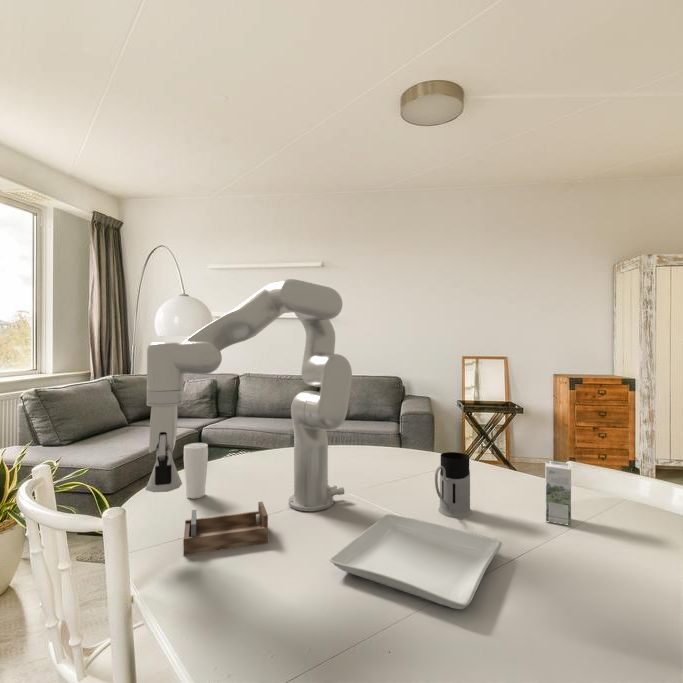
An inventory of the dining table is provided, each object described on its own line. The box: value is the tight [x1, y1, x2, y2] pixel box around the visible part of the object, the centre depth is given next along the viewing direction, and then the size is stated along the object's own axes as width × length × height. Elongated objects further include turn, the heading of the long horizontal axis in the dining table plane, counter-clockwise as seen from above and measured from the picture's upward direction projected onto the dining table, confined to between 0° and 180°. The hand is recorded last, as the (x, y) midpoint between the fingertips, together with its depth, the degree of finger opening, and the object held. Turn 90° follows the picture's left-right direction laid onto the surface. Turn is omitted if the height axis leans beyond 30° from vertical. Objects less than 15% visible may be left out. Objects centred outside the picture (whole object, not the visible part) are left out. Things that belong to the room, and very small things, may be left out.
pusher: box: [190, 509, 197, 537], centre depth 96 cm, size 1×8×5 cm, turn 19°
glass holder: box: [434, 451, 473, 519], centre depth 112 cm, size 9×14×15 cm, turn 137°
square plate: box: [329, 513, 503, 610], centre depth 87 cm, size 27×27×4 cm
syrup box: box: [544, 460, 572, 525], centre depth 108 cm, size 6×6×14 cm
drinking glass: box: [183, 442, 209, 500], centre depth 125 cm, size 7×7×15 cm
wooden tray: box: [182, 501, 269, 556], centre depth 98 cm, size 18×10×6 cm, turn 108°
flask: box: [145, 445, 183, 493], centre depth 94 cm, size 7×7×10 cm
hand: (164, 479), depth 94 cm, fingers closed on flask, 5 cm apart
